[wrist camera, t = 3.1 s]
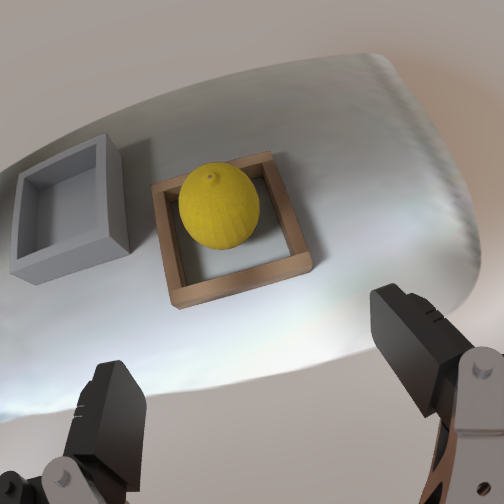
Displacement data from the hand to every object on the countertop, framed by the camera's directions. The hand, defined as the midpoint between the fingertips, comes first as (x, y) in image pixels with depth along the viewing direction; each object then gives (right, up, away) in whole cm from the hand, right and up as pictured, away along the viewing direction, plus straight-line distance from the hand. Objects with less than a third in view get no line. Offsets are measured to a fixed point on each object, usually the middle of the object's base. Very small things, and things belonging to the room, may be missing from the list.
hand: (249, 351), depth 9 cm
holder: (-17, +6, +18) cm, 25 cm away
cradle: (-2, +5, +16) cm, 17 cm away
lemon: (-2, +5, +17) cm, 17 cm away
